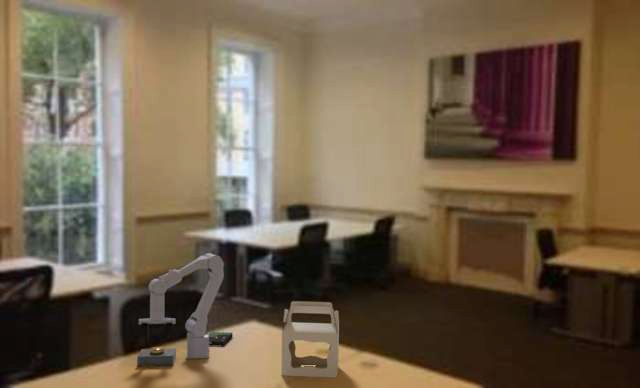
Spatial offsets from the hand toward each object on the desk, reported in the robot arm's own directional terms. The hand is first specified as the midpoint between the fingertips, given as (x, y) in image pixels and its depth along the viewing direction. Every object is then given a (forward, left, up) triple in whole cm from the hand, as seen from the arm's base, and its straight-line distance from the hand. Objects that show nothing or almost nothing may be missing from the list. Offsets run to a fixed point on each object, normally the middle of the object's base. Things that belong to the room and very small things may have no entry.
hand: (157, 341), depth 244 cm
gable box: (-62, +16, -9) cm, 65 cm away
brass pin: (0, 0, -8) cm, 8 cm away
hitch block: (0, 0, -9) cm, 9 cm away
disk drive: (-23, -29, -9) cm, 38 cm away
